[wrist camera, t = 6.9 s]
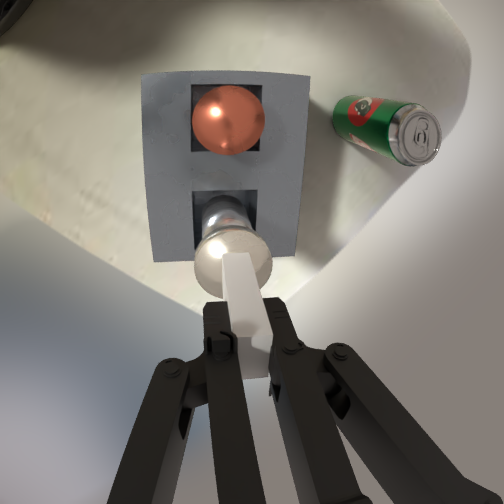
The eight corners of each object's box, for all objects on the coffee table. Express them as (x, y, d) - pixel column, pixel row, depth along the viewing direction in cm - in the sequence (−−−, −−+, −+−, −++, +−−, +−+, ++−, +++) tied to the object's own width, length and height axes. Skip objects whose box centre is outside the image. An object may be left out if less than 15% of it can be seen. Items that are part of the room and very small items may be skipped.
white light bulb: (194, 189, 23) (192, 234, 17) (253, 188, 24) (275, 231, 17) (196, 242, 26) (196, 301, 19) (250, 239, 26) (269, 297, 19)
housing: (157, 79, 24) (141, 74, 18) (283, 79, 26) (310, 76, 19) (163, 223, 32) (153, 262, 25) (274, 219, 34) (294, 256, 27)
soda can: (328, 138, 30) (390, 167, 20) (331, 92, 27) (398, 98, 17) (369, 142, 31) (439, 173, 20) (373, 99, 28) (448, 112, 18)
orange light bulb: (195, 88, 23) (192, 85, 17) (248, 88, 24) (266, 86, 17) (195, 138, 26) (192, 156, 19) (246, 138, 26) (263, 155, 19)
